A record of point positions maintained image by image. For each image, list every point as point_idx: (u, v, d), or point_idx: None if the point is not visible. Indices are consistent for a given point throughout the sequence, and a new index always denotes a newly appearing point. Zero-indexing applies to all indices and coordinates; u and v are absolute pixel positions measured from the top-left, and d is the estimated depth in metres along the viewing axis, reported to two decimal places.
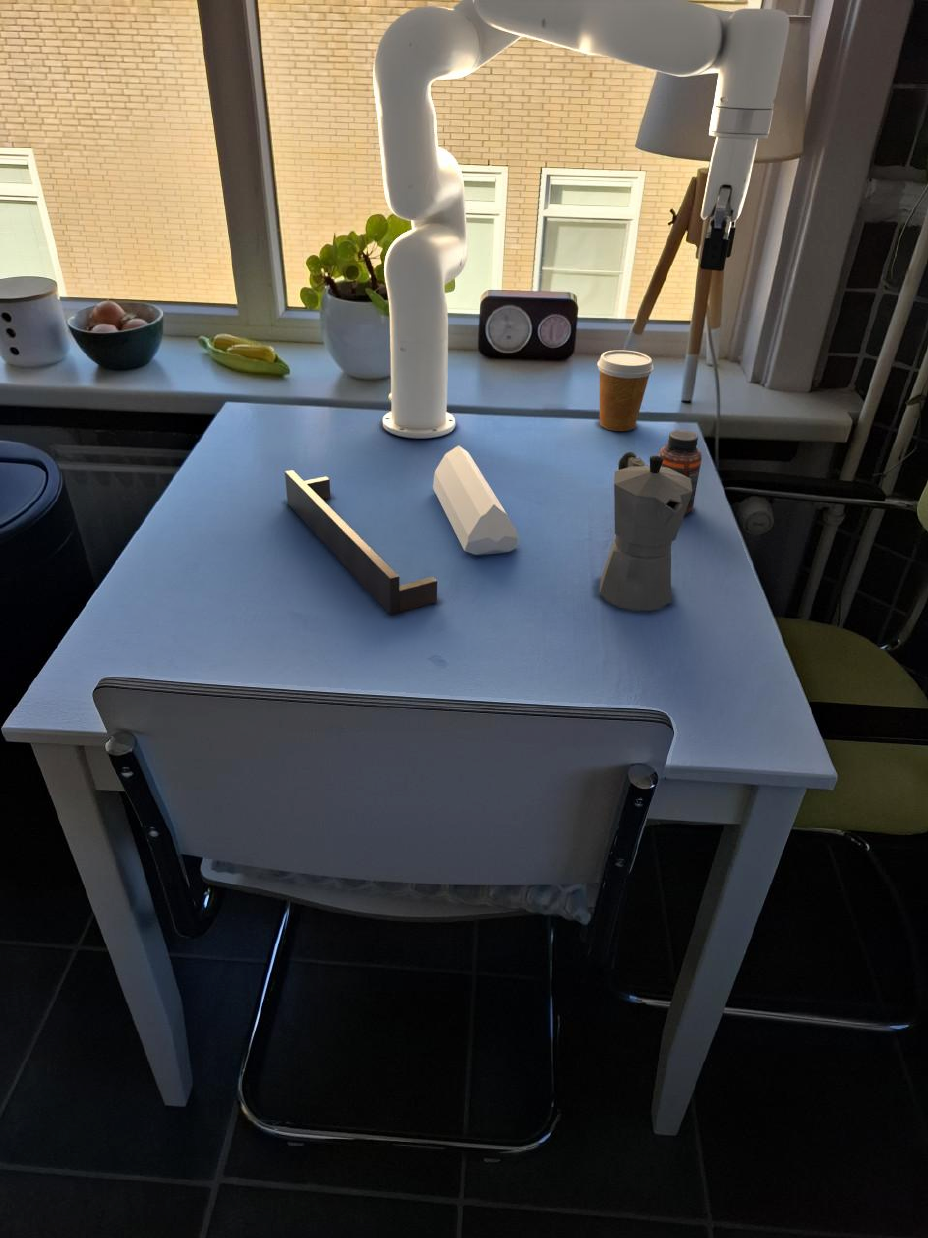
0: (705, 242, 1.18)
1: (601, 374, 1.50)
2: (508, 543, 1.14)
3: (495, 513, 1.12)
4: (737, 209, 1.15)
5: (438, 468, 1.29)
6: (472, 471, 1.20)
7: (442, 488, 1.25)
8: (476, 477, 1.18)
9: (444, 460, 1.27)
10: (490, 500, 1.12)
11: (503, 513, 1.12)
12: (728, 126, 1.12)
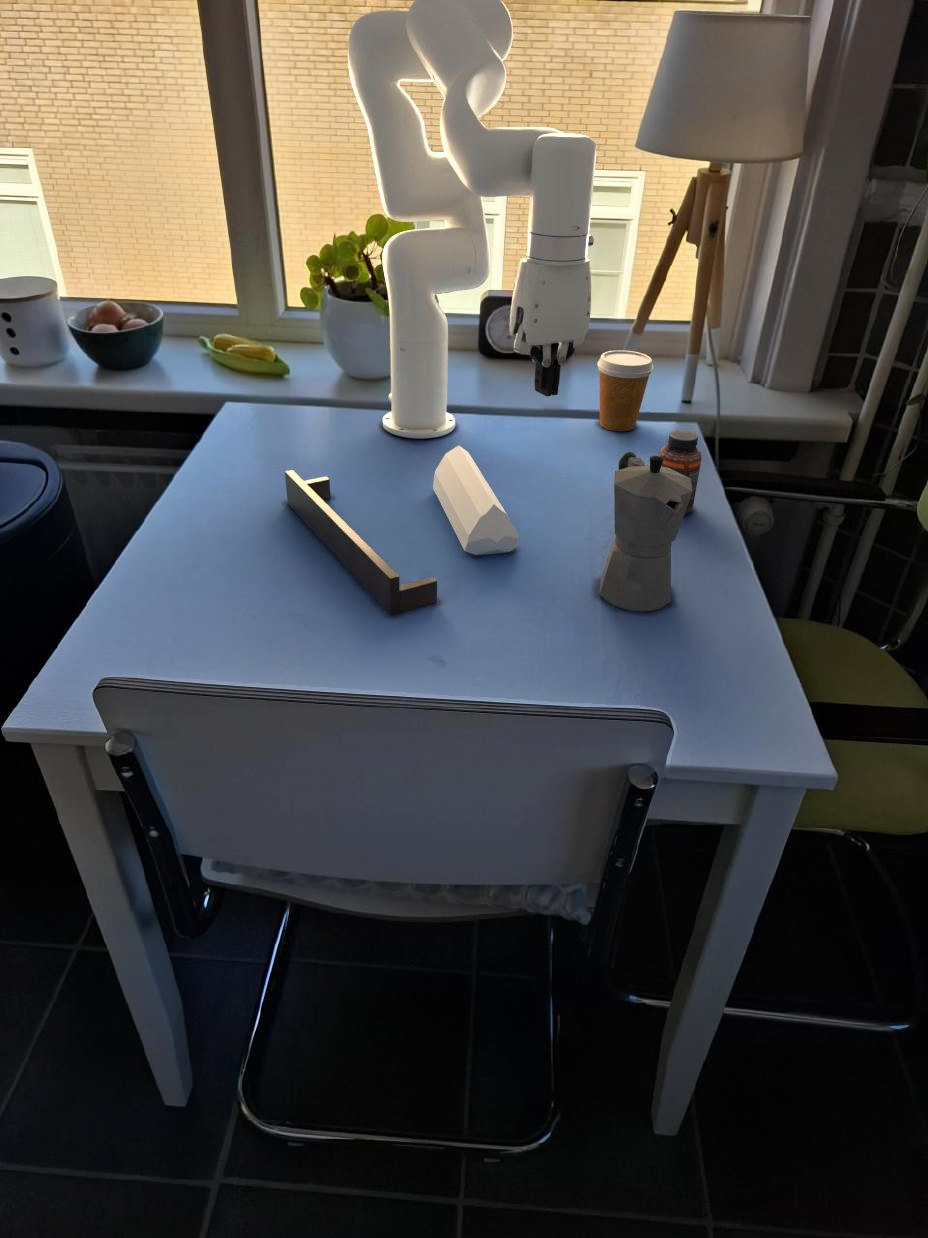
0: None
1: (601, 374, 1.50)
2: (508, 543, 1.14)
3: (495, 513, 1.12)
4: (529, 333, 1.10)
5: (438, 468, 1.29)
6: (472, 471, 1.20)
7: (442, 488, 1.25)
8: (476, 477, 1.18)
9: (444, 460, 1.27)
10: (490, 500, 1.12)
11: (503, 513, 1.12)
12: (527, 249, 1.08)
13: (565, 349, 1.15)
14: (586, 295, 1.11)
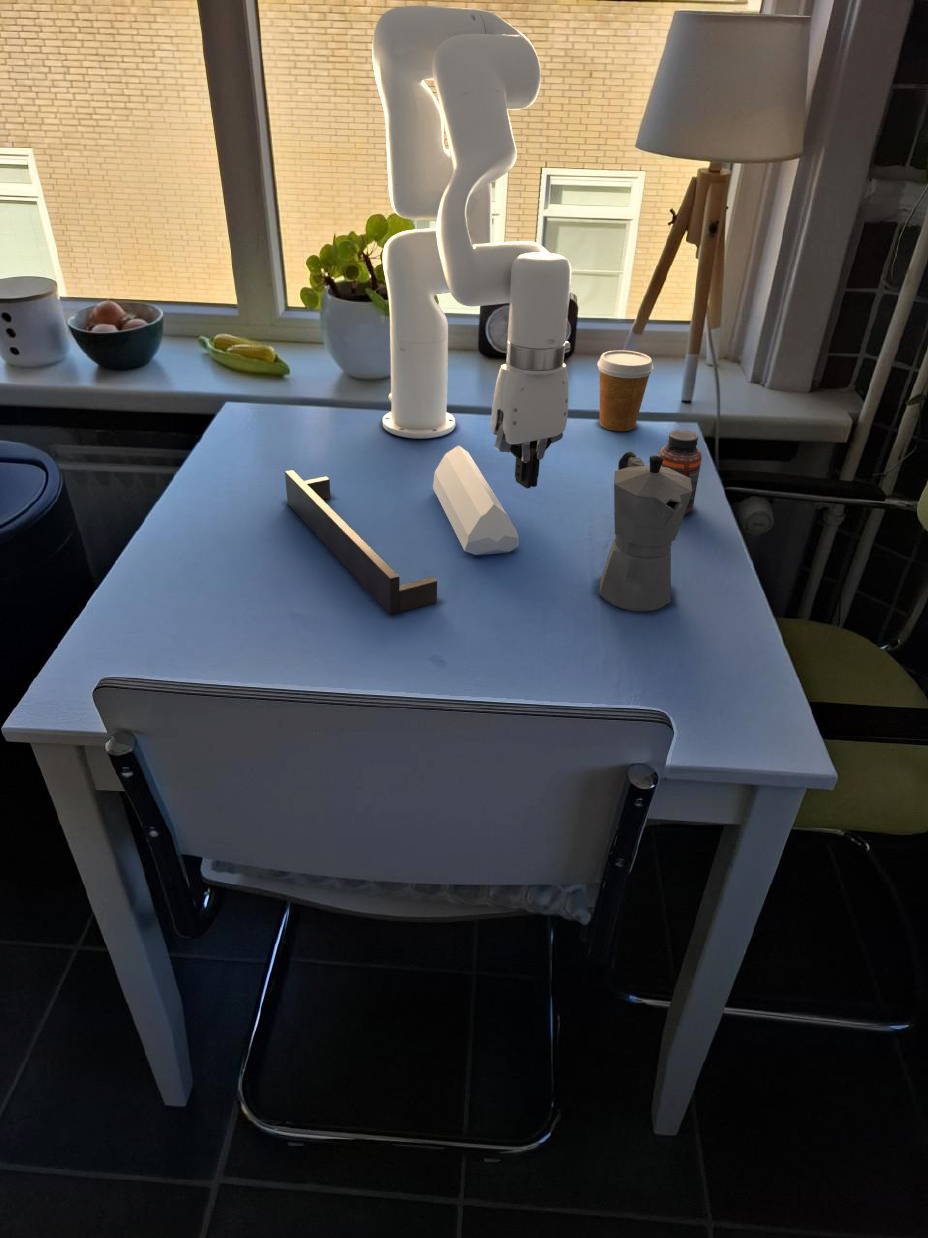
0: None
1: (601, 374, 1.50)
2: (508, 543, 1.14)
3: (495, 513, 1.12)
4: (509, 434, 1.16)
5: (438, 468, 1.29)
6: (472, 471, 1.20)
7: (442, 488, 1.25)
8: (476, 477, 1.18)
9: (444, 460, 1.27)
10: (490, 500, 1.12)
11: (503, 513, 1.12)
12: (507, 357, 1.14)
13: (544, 445, 1.21)
14: (563, 397, 1.18)
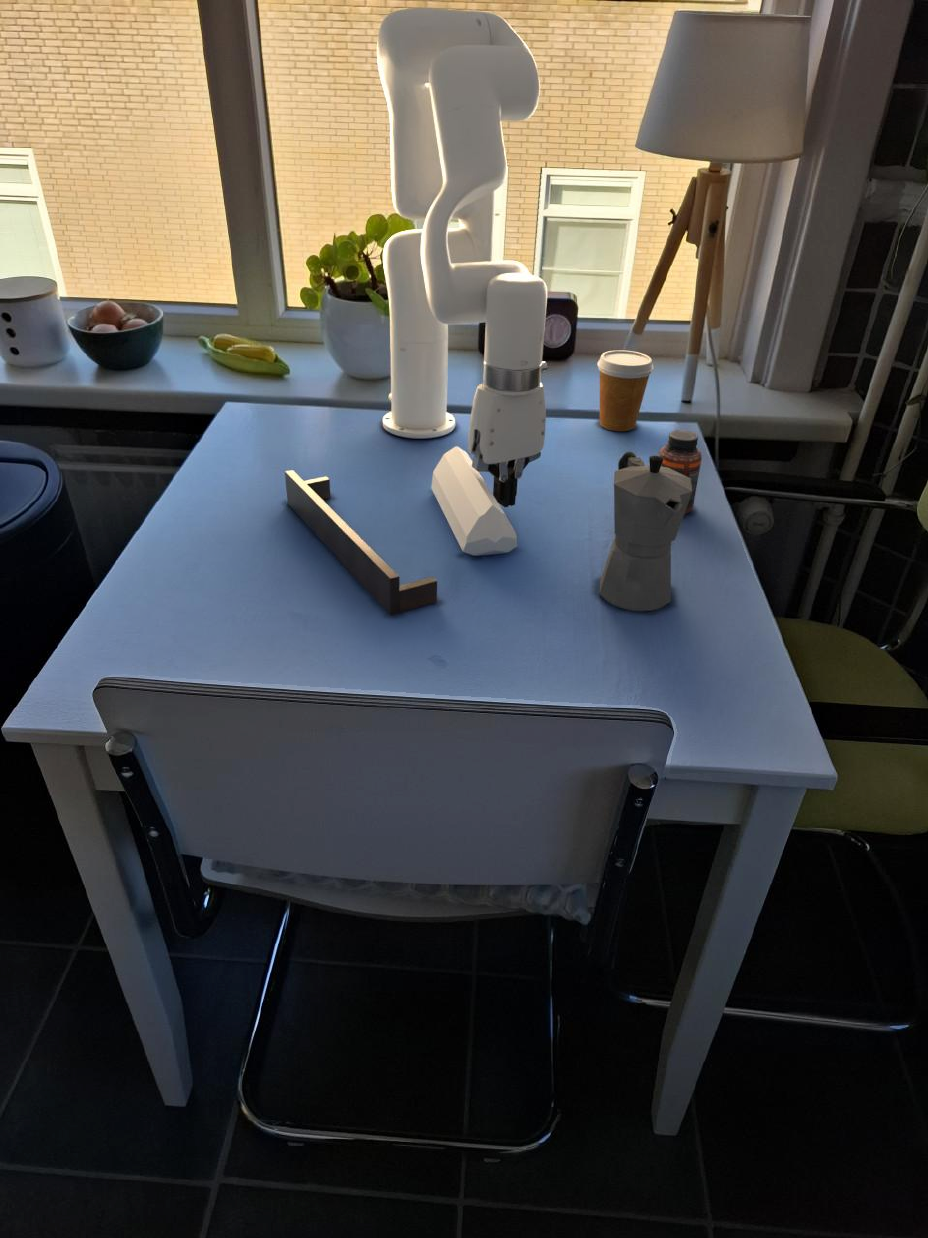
0: None
1: (601, 374, 1.50)
2: (507, 543, 1.14)
3: (493, 514, 1.11)
4: (486, 454, 1.16)
5: (436, 468, 1.28)
6: (470, 471, 1.20)
7: (440, 488, 1.25)
8: (474, 477, 1.18)
9: (443, 461, 1.27)
10: (488, 501, 1.12)
11: (501, 514, 1.12)
12: (484, 377, 1.14)
13: (521, 465, 1.21)
14: (540, 417, 1.17)
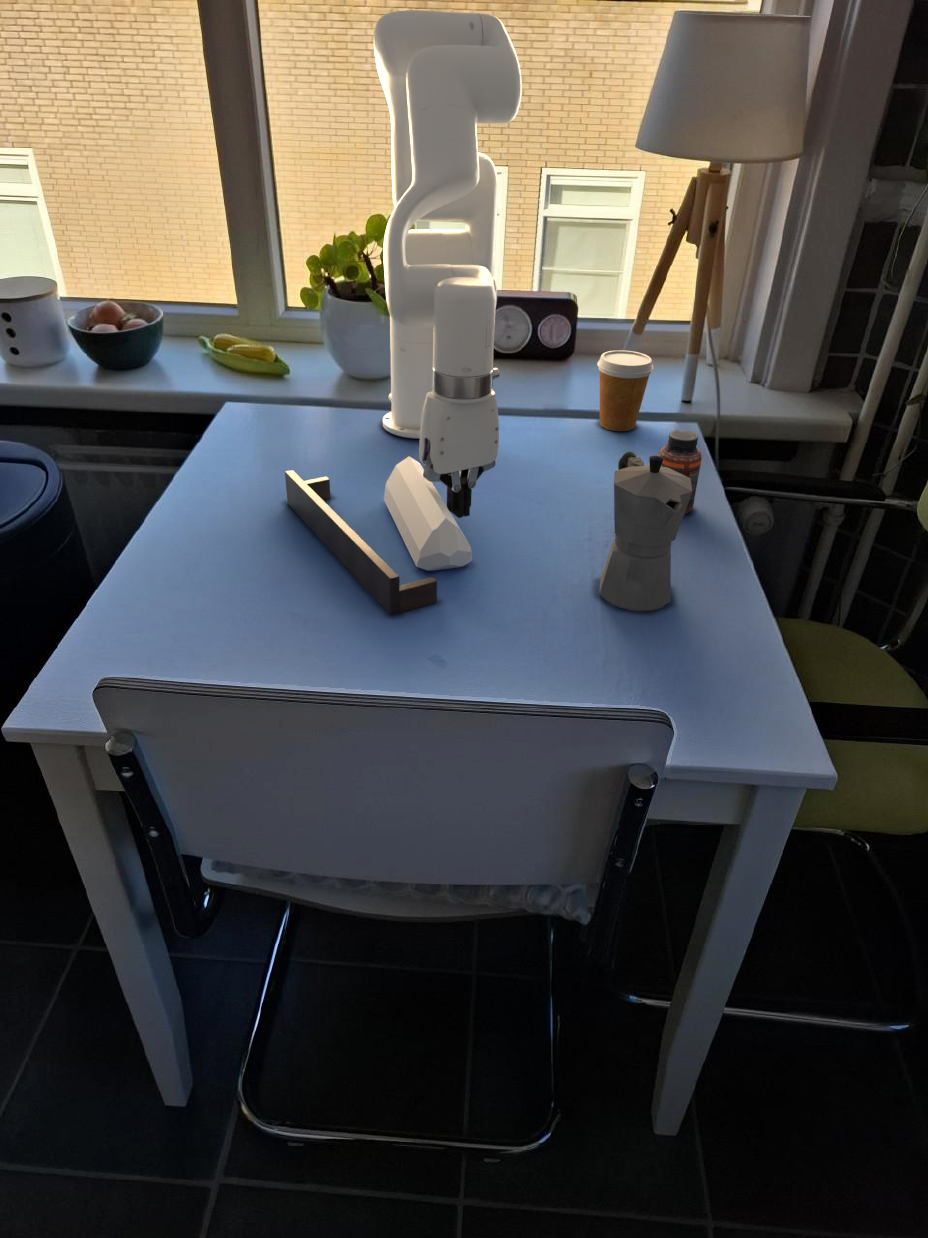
0: None
1: (601, 374, 1.50)
2: (461, 557, 1.10)
3: (447, 527, 1.08)
4: (436, 464, 1.13)
5: (389, 480, 1.25)
6: (423, 483, 1.16)
7: (393, 501, 1.21)
8: (427, 489, 1.15)
9: (395, 472, 1.24)
10: (441, 514, 1.09)
11: (455, 527, 1.08)
12: (433, 385, 1.10)
13: (475, 474, 1.17)
14: (493, 425, 1.14)
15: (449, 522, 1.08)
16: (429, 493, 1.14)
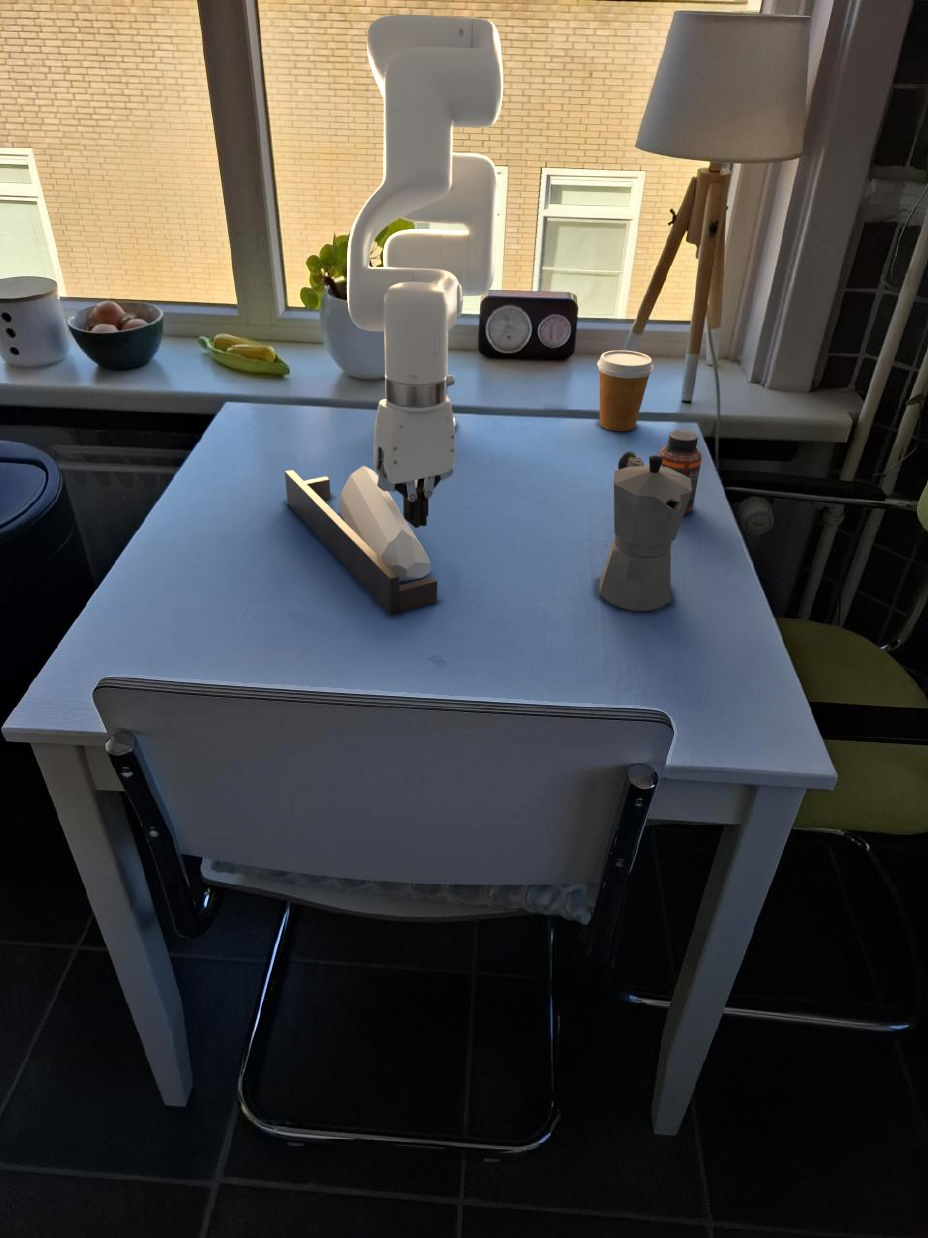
0: None
1: (601, 374, 1.50)
2: (419, 569, 1.07)
3: (403, 539, 1.05)
4: (390, 474, 1.10)
5: (344, 490, 1.21)
6: (378, 493, 1.13)
7: (348, 512, 1.18)
8: (383, 500, 1.12)
9: (350, 482, 1.20)
10: (398, 525, 1.06)
11: (412, 538, 1.05)
12: (385, 392, 1.07)
13: (431, 483, 1.14)
14: (448, 434, 1.11)
15: (406, 533, 1.05)
16: (385, 504, 1.11)
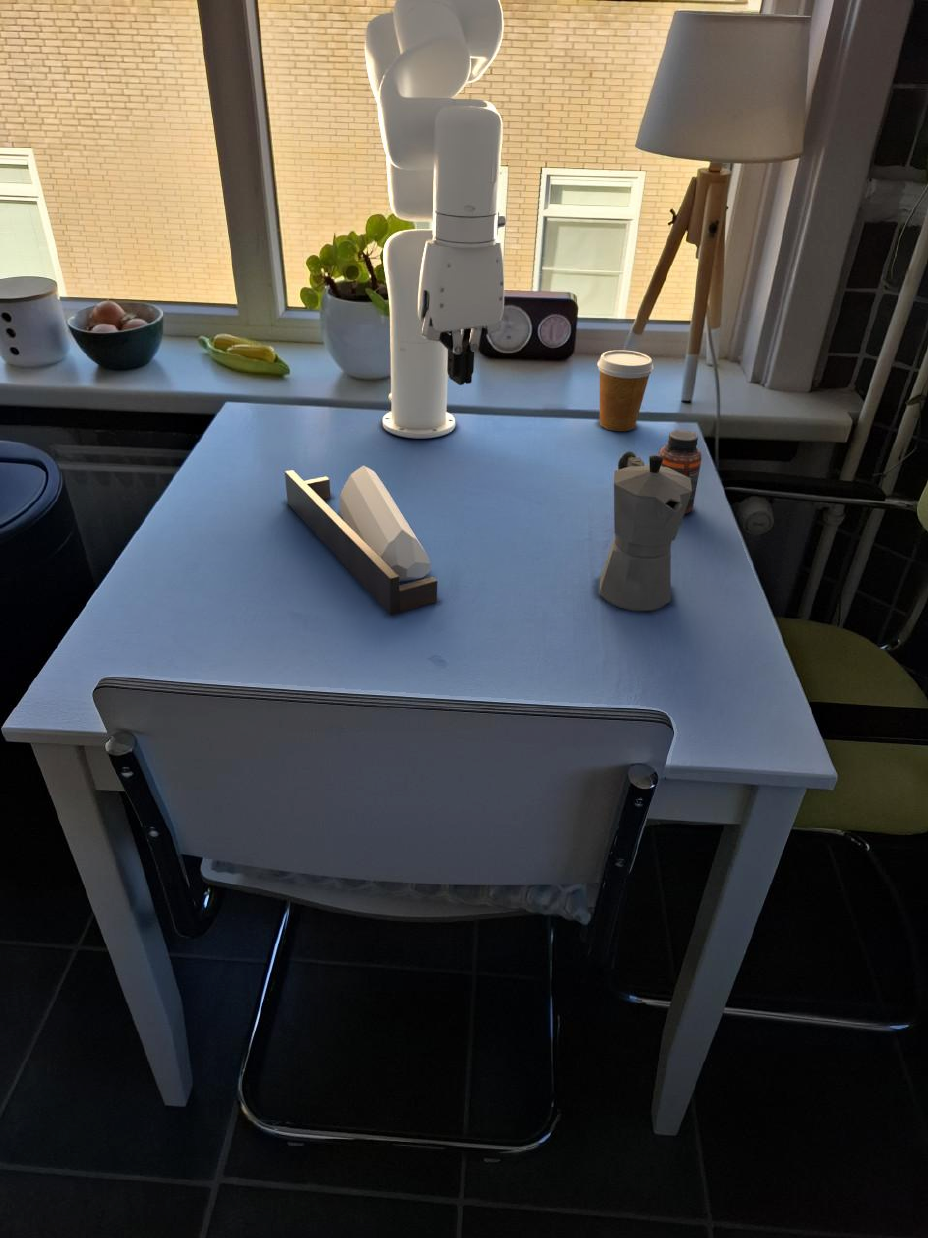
0: None
1: (601, 374, 1.50)
2: (419, 569, 1.07)
3: (403, 539, 1.05)
4: (436, 319, 1.05)
5: (343, 490, 1.21)
6: (378, 493, 1.13)
7: (348, 511, 1.18)
8: (383, 500, 1.12)
9: (350, 481, 1.20)
10: (398, 525, 1.06)
11: (412, 538, 1.05)
12: (433, 229, 1.02)
13: (478, 335, 1.09)
14: (498, 279, 1.06)
15: (406, 533, 1.05)
16: (385, 503, 1.11)
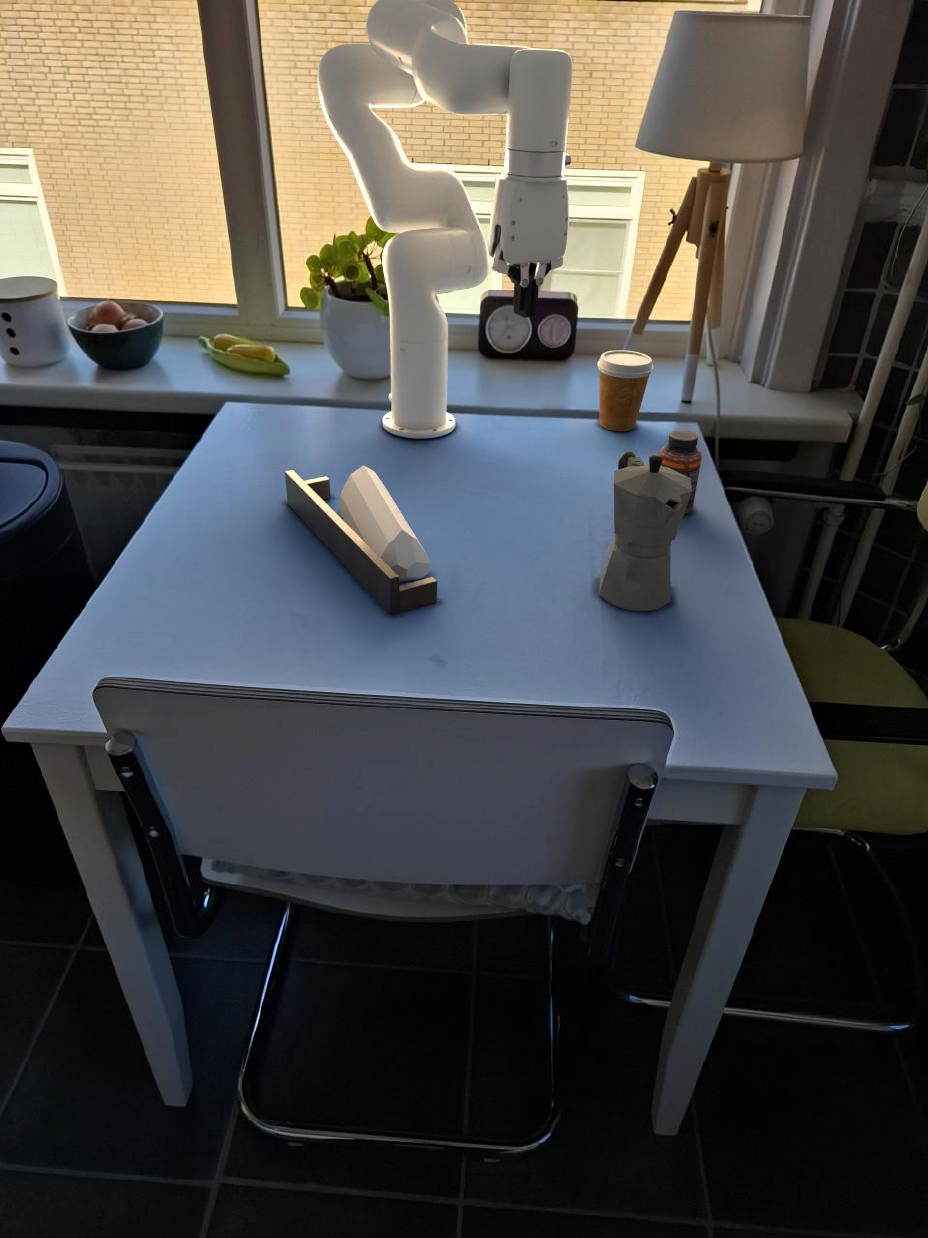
0: None
1: (601, 374, 1.50)
2: (419, 569, 1.07)
3: (403, 539, 1.05)
4: (507, 251, 1.12)
5: (343, 490, 1.21)
6: (378, 493, 1.13)
7: (348, 511, 1.18)
8: (383, 500, 1.12)
9: (350, 481, 1.20)
10: (398, 525, 1.06)
11: (412, 538, 1.05)
12: (505, 166, 1.10)
13: (543, 270, 1.17)
14: (563, 214, 1.13)
15: (406, 533, 1.05)
16: (385, 503, 1.11)
